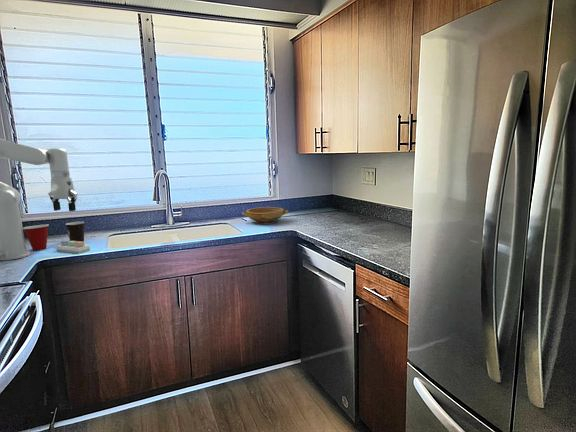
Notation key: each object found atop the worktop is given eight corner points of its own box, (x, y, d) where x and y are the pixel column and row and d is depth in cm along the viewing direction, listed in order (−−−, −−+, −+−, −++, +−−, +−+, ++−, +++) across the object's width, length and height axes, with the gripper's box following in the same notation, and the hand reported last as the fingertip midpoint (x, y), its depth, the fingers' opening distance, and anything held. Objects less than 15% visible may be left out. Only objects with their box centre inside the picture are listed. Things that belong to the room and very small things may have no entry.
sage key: (73, 246, 176) (72, 242, 176) (68, 245, 177) (68, 241, 177) (77, 245, 178) (76, 241, 178) (72, 244, 179) (72, 240, 179)
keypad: (79, 253, 173) (78, 248, 172) (57, 250, 178) (56, 245, 178) (90, 250, 178) (89, 245, 177) (68, 247, 184) (67, 243, 183)
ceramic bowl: (241, 227, 222) (241, 214, 221) (242, 219, 246) (242, 207, 244) (290, 224, 225) (290, 212, 224) (286, 217, 249) (286, 206, 247)
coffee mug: (69, 240, 199) (67, 222, 197) (87, 238, 202) (85, 221, 200) (65, 245, 188) (62, 226, 187) (84, 243, 191) (81, 224, 190)
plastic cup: (47, 245, 190) (44, 222, 188) (55, 248, 184) (52, 224, 181) (23, 249, 182) (19, 226, 180) (30, 253, 175) (26, 228, 173)
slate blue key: (66, 245, 178) (65, 241, 177) (61, 245, 179) (61, 241, 179) (70, 244, 180) (70, 240, 179) (65, 243, 181) (65, 239, 181)
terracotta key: (80, 247, 174) (79, 242, 174) (75, 246, 175) (74, 242, 175) (84, 245, 176) (83, 241, 176) (79, 245, 177) (79, 241, 177)
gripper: (80, 174, 175) (85, 210, 178) (54, 174, 181) (58, 208, 184) (67, 175, 168) (71, 212, 171) (39, 175, 174) (44, 211, 177)
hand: (64, 210), depth 177 cm, fingers open, 9 cm apart
